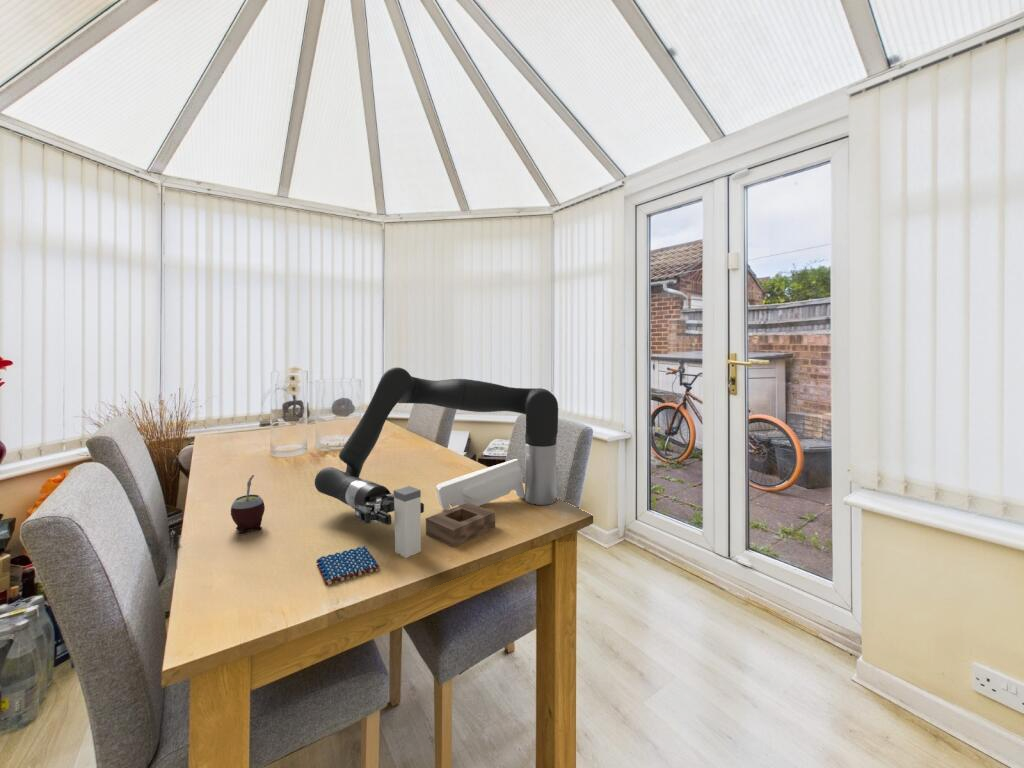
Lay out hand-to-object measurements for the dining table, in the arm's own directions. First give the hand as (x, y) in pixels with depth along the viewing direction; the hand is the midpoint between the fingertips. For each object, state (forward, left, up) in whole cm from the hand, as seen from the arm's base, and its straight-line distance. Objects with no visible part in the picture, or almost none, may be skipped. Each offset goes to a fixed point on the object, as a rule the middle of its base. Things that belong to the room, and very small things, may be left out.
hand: (406, 514), depth 92 cm
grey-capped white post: (0, 0, -8) cm, 9 cm away
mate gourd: (+19, -39, -9) cm, 44 cm away
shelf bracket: (-31, -7, -9) cm, 33 cm away
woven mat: (+12, -4, -9) cm, 16 cm away
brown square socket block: (-15, +1, -8) cm, 17 cm away
